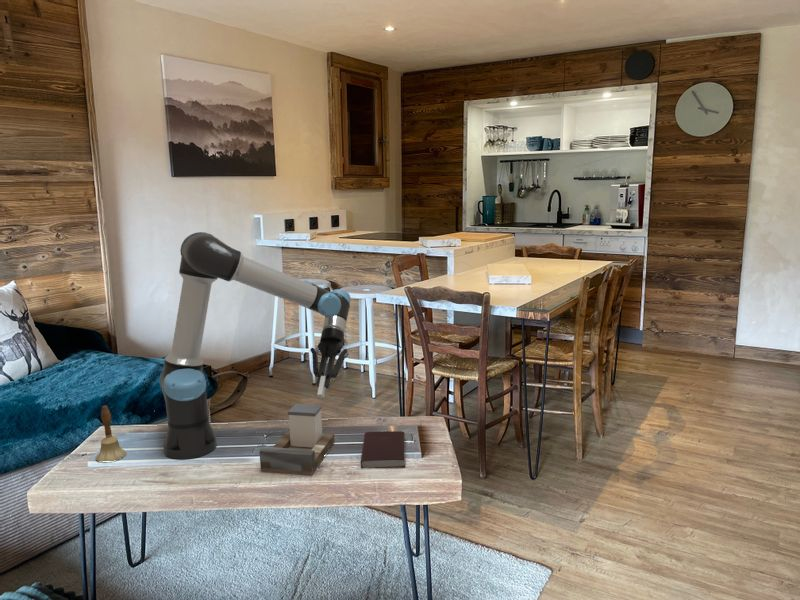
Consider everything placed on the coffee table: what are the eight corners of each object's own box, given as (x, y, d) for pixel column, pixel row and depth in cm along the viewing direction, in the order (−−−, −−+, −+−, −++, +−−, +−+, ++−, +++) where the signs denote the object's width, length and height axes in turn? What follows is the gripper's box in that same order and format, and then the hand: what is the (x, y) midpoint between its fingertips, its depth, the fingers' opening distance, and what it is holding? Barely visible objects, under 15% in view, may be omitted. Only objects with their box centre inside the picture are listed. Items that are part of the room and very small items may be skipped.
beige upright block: (297, 437, 191) (295, 403, 188) (323, 439, 189) (321, 405, 187) (289, 446, 184) (287, 411, 182) (316, 448, 183) (314, 413, 181)
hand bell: (127, 459, 181) (121, 407, 178) (95, 465, 177) (89, 413, 174) (125, 448, 188) (120, 398, 185) (95, 453, 185) (89, 403, 181)
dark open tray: (288, 439, 192) (287, 421, 191) (334, 442, 189) (333, 424, 188) (260, 471, 172) (259, 451, 171) (312, 475, 169) (311, 455, 168)
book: (360, 470, 173) (360, 459, 172) (364, 440, 192) (364, 430, 191) (405, 469, 173) (405, 459, 172) (405, 439, 192) (405, 430, 191)
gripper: (354, 338, 211) (342, 402, 199) (317, 336, 213) (304, 400, 201) (349, 326, 205) (337, 392, 192) (312, 325, 207) (297, 390, 195)
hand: (320, 396), depth 197 cm, fingers closed
